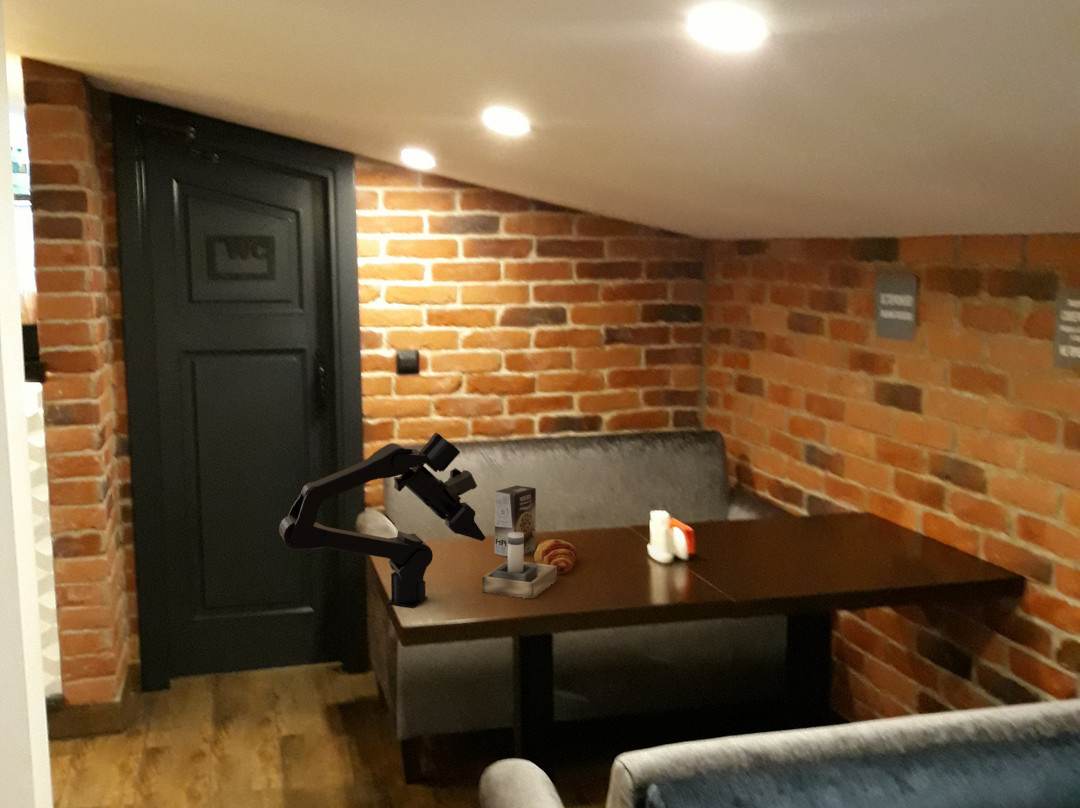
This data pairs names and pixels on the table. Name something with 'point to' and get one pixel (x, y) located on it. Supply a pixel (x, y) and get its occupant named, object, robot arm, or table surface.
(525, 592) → the box
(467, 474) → the robot arm
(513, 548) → the white banded cylinder
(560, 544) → the croissant
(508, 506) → the coffee box
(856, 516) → the table surface
